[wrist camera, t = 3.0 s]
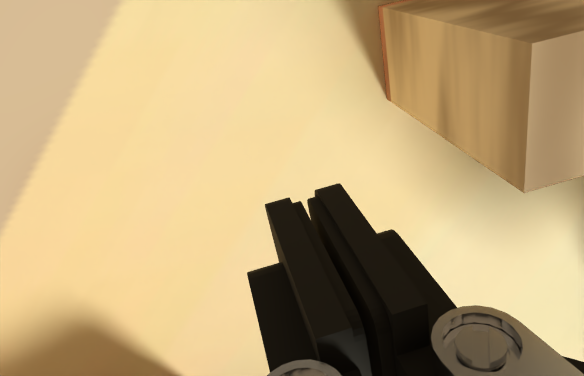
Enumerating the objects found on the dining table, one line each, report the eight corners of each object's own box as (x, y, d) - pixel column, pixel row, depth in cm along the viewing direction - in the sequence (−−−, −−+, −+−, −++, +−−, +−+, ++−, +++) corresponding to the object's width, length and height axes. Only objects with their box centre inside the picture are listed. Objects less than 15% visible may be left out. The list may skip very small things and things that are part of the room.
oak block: (468, -15, 24) (685, 4, 14) (468, 77, 27) (655, 155, 16) (378, 6, 24) (532, 43, 13) (387, 99, 26) (524, 193, 16)
